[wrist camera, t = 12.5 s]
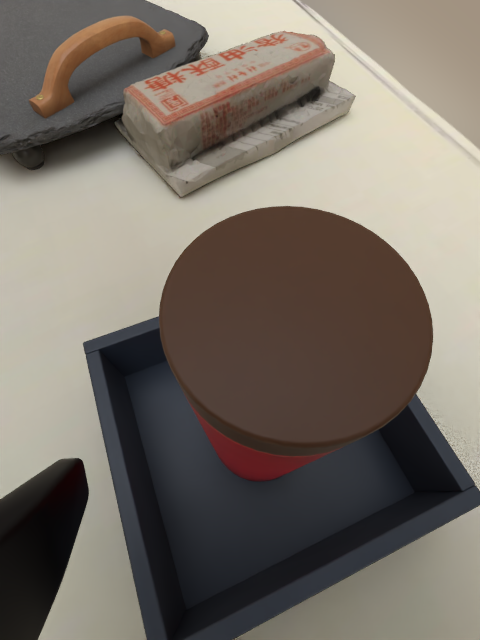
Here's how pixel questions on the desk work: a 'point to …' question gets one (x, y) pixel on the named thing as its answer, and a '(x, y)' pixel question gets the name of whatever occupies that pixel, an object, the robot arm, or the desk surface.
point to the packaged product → (232, 108)
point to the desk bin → (252, 501)
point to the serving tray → (80, 64)
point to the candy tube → (293, 336)
